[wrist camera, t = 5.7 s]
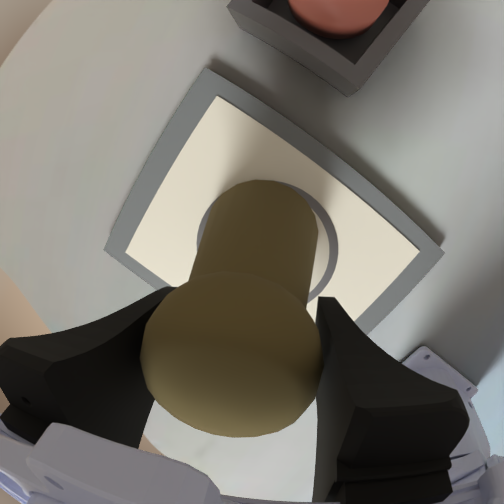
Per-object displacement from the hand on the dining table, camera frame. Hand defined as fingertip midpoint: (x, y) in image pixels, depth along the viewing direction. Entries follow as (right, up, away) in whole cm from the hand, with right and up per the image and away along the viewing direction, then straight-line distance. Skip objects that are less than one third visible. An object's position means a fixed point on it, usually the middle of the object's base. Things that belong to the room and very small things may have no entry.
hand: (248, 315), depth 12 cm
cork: (+1, +3, +5) cm, 6 cm away
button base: (+4, +15, +1) cm, 16 cm away
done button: (+4, +14, -1) cm, 15 cm away
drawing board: (+1, +3, +7) cm, 7 cm away
